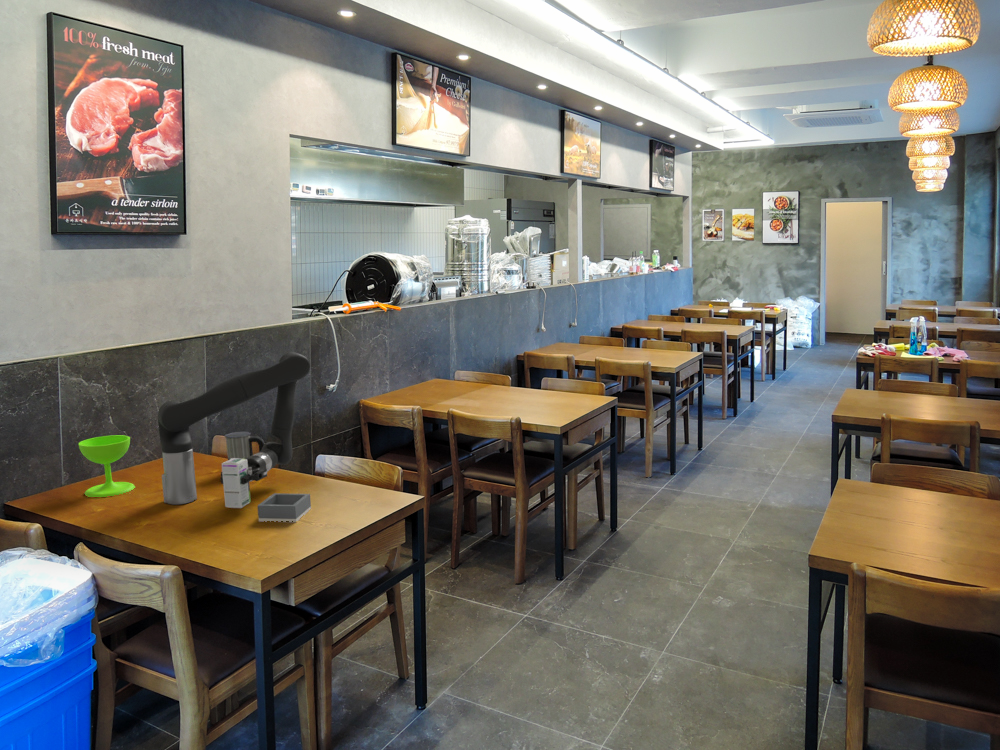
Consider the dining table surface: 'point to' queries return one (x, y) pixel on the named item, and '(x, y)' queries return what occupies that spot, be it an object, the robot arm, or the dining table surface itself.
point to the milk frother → (241, 444)
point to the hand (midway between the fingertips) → (232, 481)
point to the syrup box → (235, 483)
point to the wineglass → (106, 462)
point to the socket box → (284, 507)
